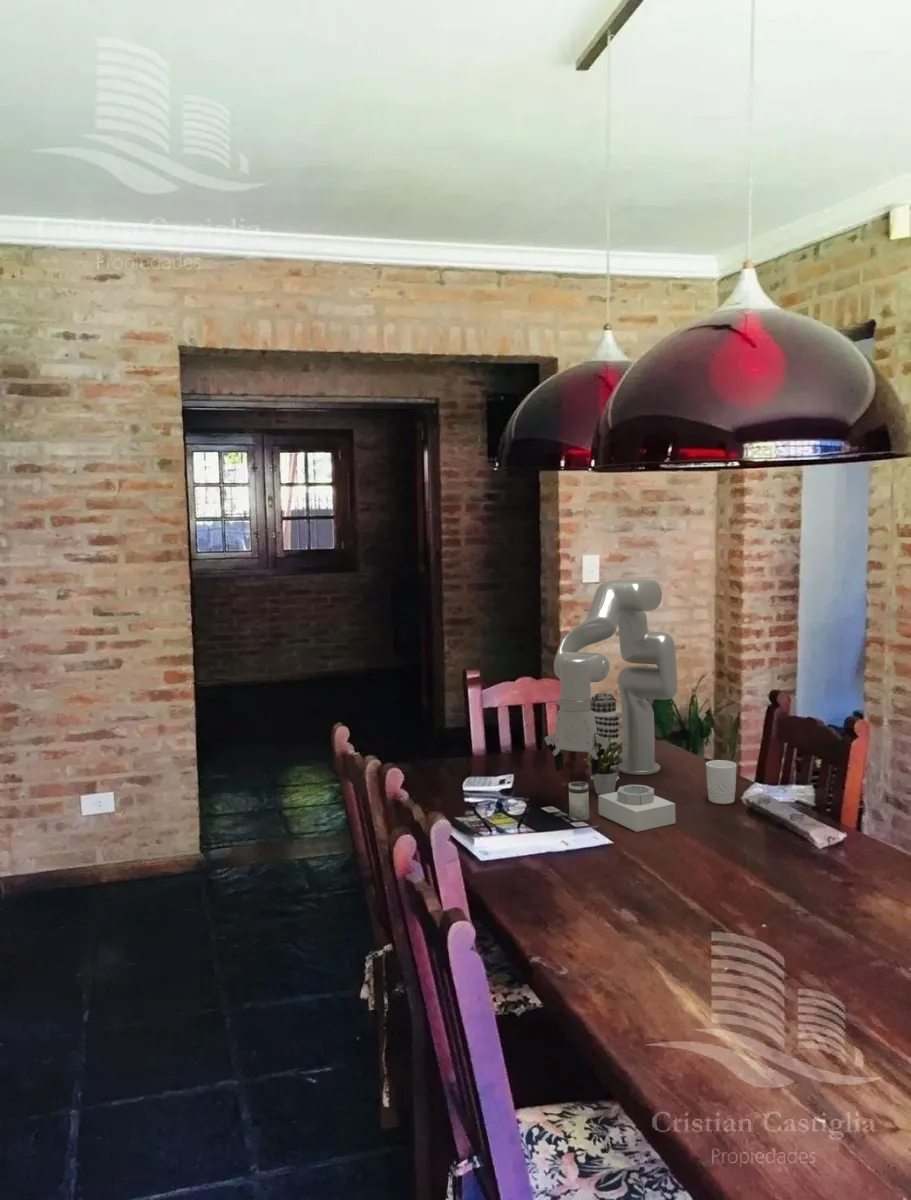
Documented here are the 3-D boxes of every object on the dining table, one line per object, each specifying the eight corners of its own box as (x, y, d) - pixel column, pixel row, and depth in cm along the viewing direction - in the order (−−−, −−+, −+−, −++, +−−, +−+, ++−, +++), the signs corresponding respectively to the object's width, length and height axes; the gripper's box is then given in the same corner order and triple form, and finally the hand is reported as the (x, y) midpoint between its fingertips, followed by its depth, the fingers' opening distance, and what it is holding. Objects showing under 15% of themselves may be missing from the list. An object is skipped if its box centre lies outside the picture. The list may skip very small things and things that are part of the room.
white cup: (740, 804, 243) (740, 767, 242) (710, 805, 243) (709, 768, 242) (732, 795, 251) (731, 759, 250) (703, 796, 251) (702, 760, 250)
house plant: (637, 801, 249) (636, 741, 248) (586, 802, 250) (584, 743, 248) (628, 785, 264) (627, 729, 262) (580, 787, 264) (578, 731, 262)
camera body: (598, 814, 240) (598, 785, 239) (636, 806, 245) (635, 778, 244) (636, 831, 225) (635, 801, 225) (675, 823, 231) (674, 793, 230)
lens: (565, 817, 238) (564, 782, 238) (582, 814, 240) (581, 779, 240) (576, 822, 234) (575, 787, 233) (593, 819, 236) (592, 784, 235)
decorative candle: (586, 782, 269) (584, 697, 266) (591, 773, 277) (589, 691, 275) (618, 783, 266) (616, 698, 264) (622, 774, 275) (620, 692, 273)
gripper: (538, 705, 235) (540, 771, 237) (603, 710, 227) (604, 778, 228) (550, 700, 242) (551, 765, 243) (613, 705, 233) (614, 771, 235)
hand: (577, 771), depth 236 cm, fingers open, 9 cm apart
